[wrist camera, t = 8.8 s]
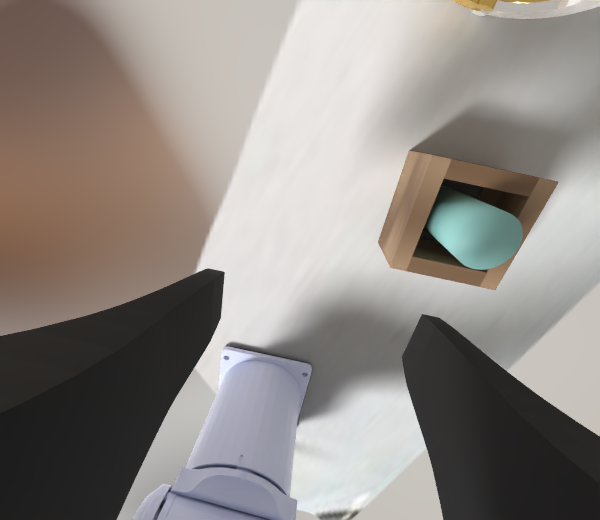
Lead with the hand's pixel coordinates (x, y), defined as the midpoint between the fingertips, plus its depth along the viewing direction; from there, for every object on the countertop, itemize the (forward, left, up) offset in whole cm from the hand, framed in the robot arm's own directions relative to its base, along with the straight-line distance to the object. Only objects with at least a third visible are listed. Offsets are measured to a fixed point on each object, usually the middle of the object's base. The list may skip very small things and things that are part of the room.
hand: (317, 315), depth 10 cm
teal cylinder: (+3, -7, -10) cm, 12 cm away
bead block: (+3, -7, -10) cm, 12 cm away
